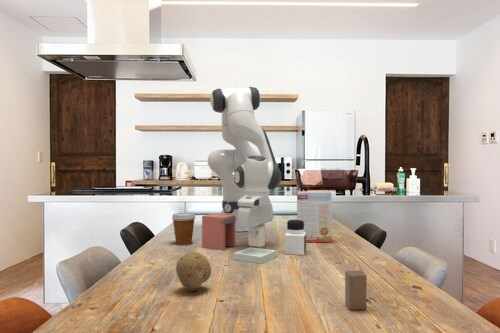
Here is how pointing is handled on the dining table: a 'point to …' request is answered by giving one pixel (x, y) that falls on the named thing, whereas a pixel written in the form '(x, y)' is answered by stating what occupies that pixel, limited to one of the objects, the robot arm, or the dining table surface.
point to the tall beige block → (258, 237)
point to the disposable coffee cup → (183, 227)
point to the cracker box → (315, 214)
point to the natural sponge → (193, 270)
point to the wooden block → (355, 290)
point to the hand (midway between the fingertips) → (256, 236)
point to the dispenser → (218, 231)
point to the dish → (254, 255)
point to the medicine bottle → (295, 238)
